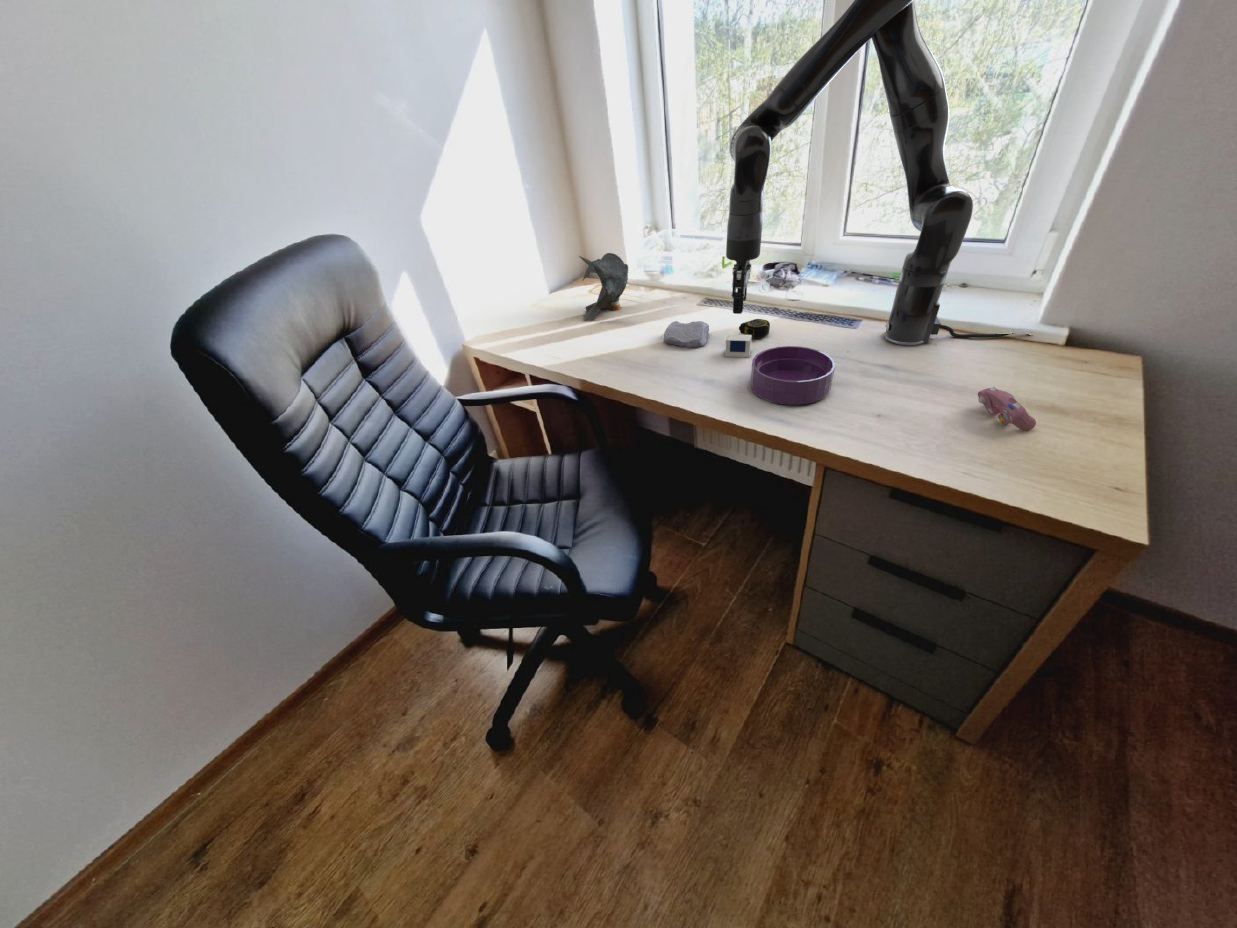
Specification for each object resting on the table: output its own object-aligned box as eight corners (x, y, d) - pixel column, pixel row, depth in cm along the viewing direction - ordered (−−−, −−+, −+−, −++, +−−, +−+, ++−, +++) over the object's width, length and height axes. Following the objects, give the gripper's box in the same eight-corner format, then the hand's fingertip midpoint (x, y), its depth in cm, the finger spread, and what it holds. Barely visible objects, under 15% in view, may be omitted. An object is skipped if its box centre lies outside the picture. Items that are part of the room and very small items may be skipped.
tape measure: (758, 328, 132) (759, 315, 129) (774, 336, 127) (775, 323, 124) (738, 334, 130) (738, 321, 128) (753, 342, 125) (754, 329, 123)
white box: (750, 351, 121) (751, 334, 119) (749, 357, 119) (750, 340, 116) (727, 350, 123) (727, 334, 120) (725, 356, 120) (725, 340, 118)
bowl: (828, 371, 109) (833, 347, 105) (831, 409, 97) (836, 384, 93) (753, 368, 114) (755, 345, 110) (747, 404, 102) (749, 379, 98)
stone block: (703, 354, 126) (710, 332, 132) (702, 339, 123) (709, 317, 129) (661, 353, 131) (670, 332, 136) (659, 338, 127) (668, 317, 133)
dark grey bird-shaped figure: (631, 316, 149) (626, 257, 138) (584, 321, 150) (575, 262, 139) (631, 301, 160) (626, 245, 149) (587, 305, 161) (579, 250, 150)
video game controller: (975, 412, 93) (970, 387, 89) (999, 401, 92) (996, 374, 88) (1012, 441, 85) (1009, 414, 82) (1039, 428, 84) (1037, 401, 80)
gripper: (759, 242, 97) (752, 318, 107) (763, 226, 108) (757, 296, 118) (722, 243, 100) (720, 317, 110) (730, 227, 110) (727, 296, 120)
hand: (739, 306), depth 114 cm, fingers open, 8 cm apart
